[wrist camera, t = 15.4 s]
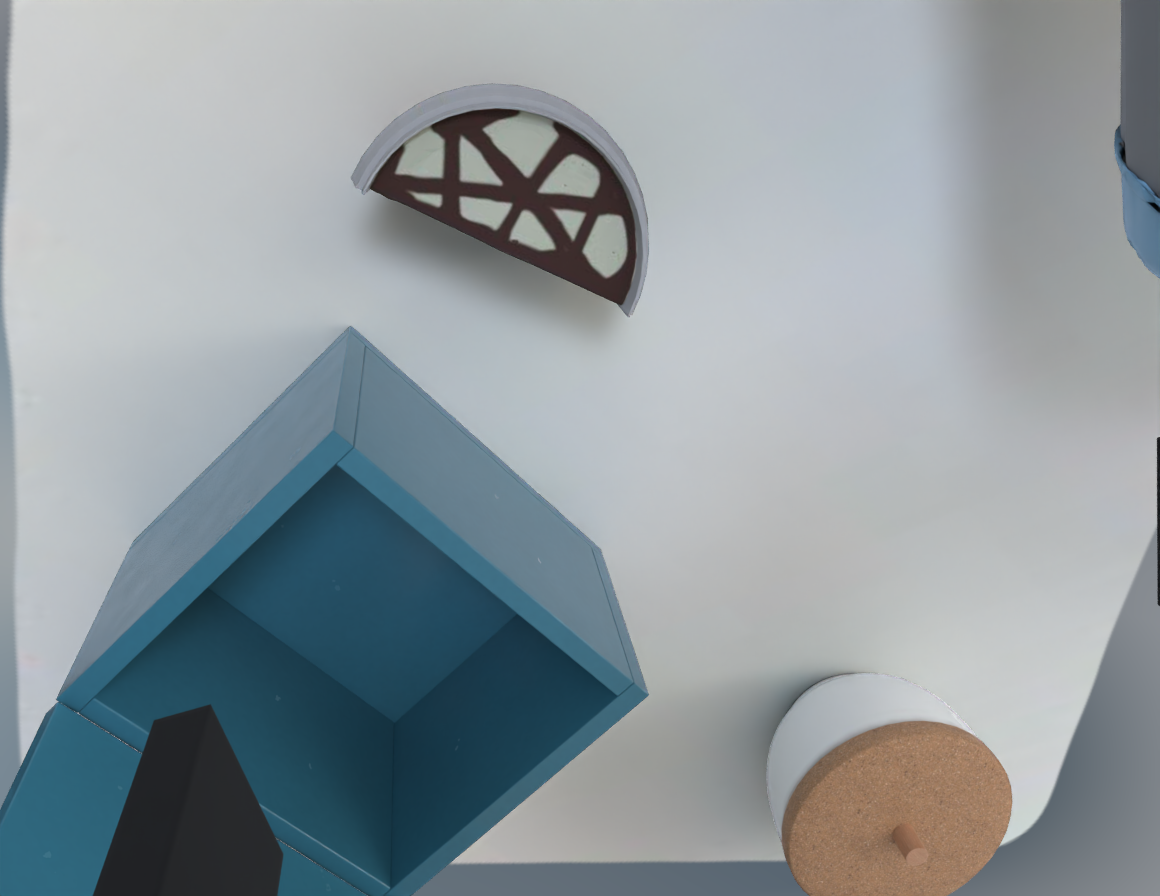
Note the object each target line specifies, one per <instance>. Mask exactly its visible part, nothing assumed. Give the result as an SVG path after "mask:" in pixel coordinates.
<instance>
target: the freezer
mask: <svg viewBox="0 0 1160 896" xmlns="http://www.w3.org/2000/svg"><path fill="white" fill-rule="evenodd" d="M648 695H649V694H648V691H647V688H646V685H645V682H644V679H643V675H642V672H641V669H640V666H639V663H638V660H637V657H636V654H635V651H634V648H633V645H632V642H631V639H630V636H629V633H628V630H627V627H626V624H625V621H624V618H623V615H622V612H621V609H620V606H619V603H618V600H617V597H616V594H615V591H614V588H613V585H612V582H611V579H610V576H609V573H608V570H607V567H606V564H605V561H604V558H603V555H602V552H601V549H600V548H599V547H597V546H596V545H595V544H594V543H593V542H592V541H591V540H590V539H589V538H587V537H586V536H585V535H584V534H583V533H582V532H581V531H580V530H578V529H577V528H576V527H575V526H574V525H573V524H572V523H571V522H570V521H568V520H567V519H566V518H565V517H564V516H563V515H562V514H561V513H559V512H558V511H557V510H556V509H555V508H554V507H553V506H552V505H551V504H549V503H548V502H547V501H546V500H545V499H544V498H543V497H542V496H541V495H539V494H538V493H537V492H536V491H535V490H534V489H533V488H532V487H530V486H529V485H528V484H527V483H526V482H525V481H524V480H523V479H522V478H520V477H519V476H518V475H517V474H516V473H515V472H514V471H513V470H511V469H510V468H509V467H508V466H507V465H506V464H505V463H504V462H503V461H501V460H500V459H499V458H498V457H497V456H496V455H495V454H494V453H493V452H491V451H490V450H489V449H488V448H487V447H486V446H485V445H484V444H482V443H481V442H480V441H479V440H478V439H477V438H476V437H475V436H474V435H472V434H471V433H470V432H469V431H468V430H467V429H466V428H465V427H463V426H462V425H461V424H460V423H459V422H458V421H457V420H456V419H455V418H453V417H452V416H451V415H450V414H449V413H448V412H447V411H446V410H444V409H443V408H442V407H441V406H440V405H439V404H438V403H437V402H436V401H434V400H433V399H432V398H431V397H430V396H429V395H428V394H427V393H426V392H424V391H423V390H422V389H421V388H420V387H419V386H418V385H417V384H415V383H414V382H413V381H412V380H411V379H410V378H409V377H408V376H407V375H405V374H404V373H403V372H402V371H401V370H400V369H399V368H398V367H396V366H395V365H394V364H393V363H392V362H391V361H390V360H389V359H388V358H386V357H385V356H384V355H383V354H382V353H381V352H380V351H379V350H377V349H376V348H375V347H374V346H373V345H372V344H371V343H370V342H369V341H367V340H366V339H365V338H364V337H363V336H362V335H361V334H360V333H359V332H357V331H356V330H355V329H354V328H353V327H351V326H350V327H348V328H347V329H346V330H345V331H344V332H343V333H342V334H341V335H340V336H339V337H338V338H337V339H336V340H335V341H334V342H333V343H332V344H331V345H330V346H329V347H328V348H327V349H326V350H325V351H324V352H323V353H322V354H321V355H320V356H319V357H318V358H317V359H316V360H315V361H314V362H313V363H312V364H311V365H310V366H309V367H308V368H307V369H306V370H305V371H304V372H303V373H302V374H301V375H300V376H299V377H298V378H297V379H296V380H295V381H294V382H293V383H292V384H291V385H290V386H289V387H288V388H287V389H286V390H285V391H284V392H283V393H282V394H281V395H280V396H279V397H278V398H277V399H276V400H275V401H274V402H273V403H272V404H271V405H270V406H269V407H268V408H267V409H266V410H265V411H264V412H263V413H262V414H261V415H260V416H259V417H258V418H257V419H256V420H255V421H254V422H253V423H252V424H251V425H250V426H249V427H248V428H247V429H246V430H245V431H244V432H243V433H242V434H241V435H240V436H239V437H238V438H237V439H236V440H235V441H234V442H233V443H232V444H231V445H230V446H229V447H228V448H227V449H226V450H225V451H224V452H223V453H222V454H221V455H220V456H219V457H218V458H217V459H216V460H215V461H214V462H213V463H212V464H211V465H210V466H209V467H208V468H207V469H206V470H205V471H204V472H203V473H202V474H201V475H200V476H199V477H198V478H197V479H195V480H194V481H193V482H192V483H191V484H190V485H189V486H188V487H187V488H186V489H185V490H184V491H183V492H182V493H181V494H180V495H179V496H178V497H177V498H176V499H175V500H174V501H173V502H172V503H171V504H170V505H169V506H168V507H167V508H166V509H165V510H164V511H163V512H162V513H161V514H160V515H159V516H158V517H157V518H156V519H155V520H154V521H153V522H152V523H151V524H150V525H149V526H148V527H147V528H146V529H145V530H144V531H143V532H142V533H141V534H140V535H139V536H138V537H137V538H136V539H135V540H134V541H133V543H132V545H131V547H130V549H129V551H128V552H127V554H126V556H125V558H124V560H123V563H122V565H121V567H120V569H119V571H118V573H117V575H116V577H115V579H114V581H113V583H112V585H111V587H110V589H109V591H108V593H107V596H106V598H105V600H104V602H103V604H102V606H101V608H100V610H99V612H98V614H97V616H96V618H95V620H94V622H93V624H92V626H91V629H90V631H89V633H88V635H87V637H86V639H85V641H84V643H83V645H82V647H81V649H80V651H79V653H78V655H77V657H76V659H75V662H74V664H73V666H72V668H71V670H70V672H69V674H68V676H67V678H66V680H65V682H64V684H63V686H62V688H61V690H60V692H59V695H58V697H57V699H56V700H57V701H59V702H60V703H62V704H63V705H65V706H67V707H68V708H70V709H71V710H73V711H75V712H76V713H78V712H79V714H80V715H82V716H83V717H85V718H87V719H88V720H90V721H91V722H93V723H94V724H96V725H98V726H99V727H101V728H102V729H104V730H106V731H107V732H109V733H110V734H112V735H114V736H115V737H117V738H118V739H120V740H121V741H123V742H125V743H126V744H128V745H129V746H131V747H133V748H134V749H136V750H137V751H139V752H141V753H143V750H144V747H145V745H146V742H147V739H148V736H149V733H150V730H151V727H152V725H153V722H154V720H156V719H160V718H164V717H167V716H171V715H174V714H178V713H181V712H185V711H188V710H192V709H195V708H199V707H203V706H206V705H210V704H211V706H212V708H213V710H214V712H215V714H216V716H217V718H218V720H219V722H220V724H221V726H222V728H223V730H224V733H225V735H226V737H227V739H228V741H229V743H230V745H231V747H232V749H233V751H234V753H235V755H236V757H237V759H238V761H239V763H240V765H241V768H242V770H243V772H244V774H245V776H246V778H247V780H248V782H249V784H250V786H251V788H252V790H253V792H254V794H255V796H256V798H257V800H258V802H259V805H260V807H261V809H262V811H263V813H264V815H265V817H266V819H267V821H268V823H269V825H270V827H271V829H272V831H273V833H274V835H275V837H276V838H277V839H279V840H280V841H282V842H284V843H285V844H287V845H288V846H290V847H291V848H293V849H295V850H296V851H298V852H299V853H301V854H303V855H304V856H306V857H307V858H309V859H311V860H312V861H314V862H315V863H317V864H318V865H320V866H322V867H323V868H325V869H326V870H328V871H330V872H331V873H333V874H334V875H336V876H338V877H339V878H341V879H342V880H344V881H345V882H347V883H349V884H350V885H352V886H353V887H355V888H357V889H358V890H360V891H361V892H363V893H365V894H366V895H368V896H411V895H413V894H414V893H415V892H416V891H417V890H419V889H420V888H421V887H422V886H423V885H424V884H426V883H427V882H428V881H429V880H430V879H432V878H433V877H434V876H435V875H436V874H438V873H439V872H440V871H441V870H442V869H443V868H445V867H446V866H447V865H448V864H449V863H451V862H452V861H453V860H454V859H455V858H457V857H458V856H459V855H460V854H461V853H462V852H464V851H465V850H466V849H467V848H468V847H470V846H471V845H472V844H473V843H474V842H475V841H477V840H478V839H479V838H480V837H481V836H483V835H484V834H485V833H486V832H487V831H489V830H490V829H491V828H492V827H493V826H494V825H496V824H497V823H498V822H499V821H500V820H502V819H503V818H504V817H505V816H506V815H507V814H509V813H510V812H511V811H512V810H513V809H515V808H516V807H517V806H518V805H519V804H521V803H522V802H523V801H524V800H525V799H526V798H528V797H529V796H530V795H531V794H532V793H534V792H535V791H536V790H537V789H538V788H540V787H541V786H542V785H543V784H544V783H545V782H547V781H548V780H549V779H550V778H551V777H553V776H554V775H555V774H556V773H557V772H558V771H560V770H561V769H562V768H563V767H564V766H566V765H567V764H568V763H569V762H570V761H572V760H573V759H574V758H575V757H576V756H577V755H579V754H580V753H581V752H582V751H583V750H585V749H586V748H587V747H588V746H589V745H590V744H592V743H593V742H594V741H595V740H596V739H598V738H599V737H600V736H601V735H602V734H604V733H605V732H606V731H607V730H608V729H609V728H611V727H612V726H613V725H614V724H615V723H617V722H618V721H619V720H620V719H621V718H622V717H624V716H625V715H626V714H627V713H628V712H630V711H631V710H632V709H633V708H634V707H636V706H637V705H638V704H639V703H640V702H641V701H643V700H644V699H645V698H646V697H647V696H648Z"/></svg>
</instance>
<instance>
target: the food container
mask: <svg viewBox="0 0 1160 896" xmlns="http://www.w3.org/2000/svg"><path fill="white" fill-rule="evenodd" d="M351 179H352V181H353V183H354V185H355V187H356V188H358V189H360V190H362V194H363V195H364V194H365V193H366V192H367V191H368V190H369V189H371V190H373V191H375V192H377V193H379V194H381V195H383V196H385V197H386V198H388V199H391V200H394V201H397V202H400V203H402V204H404V205H406V206H409V207H411V208H413V209H415V210H417V211H419V212H421V213H423V214H426V215H428V216H430V217H432V218H434V219H436V220H438V221H440V222H442V223H445V224H447V225H449V226H451V227H453V228H455V229H457V230H459V231H461V232H463V233H465V234H468V235H470V236H472V237H474V238H476V239H478V240H480V241H482V242H484V243H486V244H488V245H490V246H492V247H494V248H496V249H498V250H500V251H502V252H504V253H507V254H509V255H511V256H513V257H516V258H518V259H520V260H523V261H525V262H527V263H530V264H532V265H534V266H536V267H539V268H541V269H543V270H545V271H547V272H549V273H552V274H554V275H556V276H558V277H560V278H563V279H565V280H567V281H569V282H571V283H573V284H575V285H578V286H580V287H582V288H584V289H586V290H588V291H591V292H593V293H595V294H597V295H599V296H601V297H604V298H606V299H608V300H610V301H613V302H615V303H617V305H618V306H619V307H620V308H621V309H622V311H623V312H624V313H625V314H626V315H627V317H630V315H632V314H633V312H634V310H635V307H636V305H637V303H638V300H639V298H640V296H641V292H642V288H643V285H644V281H645V277H646V273H647V263H648V254H649V238H648V218H647V213H646V208H645V203H644V199H643V194H642V191H641V189H640V186H639V183H638V181H637V178H636V176H635V173H634V171H633V169H632V167H631V165H630V164H629V162H628V160H627V159H626V157H625V155H624V153H623V152H622V150H621V149H620V147H619V146H618V145H617V144H616V143H615V141H614V140H613V139H612V138H611V136H610V135H609V134H608V133H607V132H606V130H604V129H603V128H602V127H601V126H600V125H599V124H598V123H596V122H595V121H594V120H593V119H592V118H591V117H590V116H589V115H587V114H586V113H584V112H583V111H581V110H580V109H578V108H576V107H575V106H573V105H572V104H570V103H568V102H567V101H565V100H562V99H560V98H558V97H555V96H553V95H550V94H548V93H546V92H543V91H540V90H535V89H531V88H527V87H523V86H518V85H506V84H483V85H473V86H465V87H461V88H458V89H454V90H450V91H447V92H443V93H440V94H438V95H436V96H433V97H431V98H429V99H427V100H425V101H423V102H421V103H418V104H416V105H415V106H414V107H412V108H411V109H409V110H408V111H406V112H405V113H403V114H402V115H400V116H399V117H397V118H396V119H395V120H394V121H393V122H392V123H391V124H390V125H389V126H388V127H386V128H385V129H384V130H383V131H382V132H381V133H380V134H379V135H378V136H377V137H376V139H375V140H374V141H373V143H372V144H371V145H370V147H369V148H368V149H367V151H366V152H365V153H364V155H363V156H362V157H361V159H360V161H359V163H358V165H357V167H356V169H355V171H354V173H353V175H352V176H351Z"/></svg>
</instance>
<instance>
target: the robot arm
mask: <svg viewBox="0 0 1160 896" xmlns="http://www.w3.org/2000/svg"><path fill="white" fill-rule="evenodd" d="M1114 148H1115V157H1116V160H1117V163H1118V166H1119V168H1120V171H1121V174H1122V197H1123V219H1124V228H1125V232H1126V235H1127V238H1128V241H1129V243H1130V245H1131V246H1132V247H1133V248H1134V249H1135V250H1136V252H1137V255H1138V257H1139V258H1140V259H1141V260H1142V262H1143V264H1144V265H1145V266H1146V267H1147V269H1148V270H1149V271H1151V272H1152V273H1153V274H1154V275H1156V276H1157V277H1158V278H1160V0H1121V124H1120V126H1119V127H1118V128H1117V130H1116V132H1115V142H1114ZM1157 536H1158V537H1157V538H1158V539H1157V541H1158V542H1157V543H1158V605H1159V606H1160V437H1159V438H1157ZM283 855H284V854H283V852H282V850H281V848H280V846H279V844H278V842H277V840H276V837H275V835H274V833H273V831H272V829H271V827H270V825H269V823H268V821H267V819H266V817H265V815H264V813H263V811H262V809H261V807H260V805H259V802H258V800H257V798H256V796H255V794H254V792H253V790H252V788H251V786H250V784H249V782H248V780H247V778H246V776H245V774H244V772H243V770H242V768H241V765H240V763H239V761H238V759H237V757H236V755H235V753H234V751H233V749H232V747H231V745H230V743H229V741H228V739H227V737H226V735H225V733H224V730H223V728H222V726H221V724H220V722H219V720H218V718H217V716H216V714H215V712H214V710H213V708H212V706H211V704H210V705H206V706H203V707H199V708H195V709H192V710H188V711H185V712H181V713H178V714H174V715H171V716H167V717H164V718H160V719H156V720H154V722H153V725H152V727H151V730H150V733H149V736H148V739H147V742H146V745H145V747H144V750H143V753H142V756H141V759H140V762H139V765H138V767H137V770H136V773H135V776H134V779H133V782H132V785H131V787H130V790H129V793H128V796H127V799H126V802H125V805H124V807H123V810H122V813H121V816H120V819H119V822H118V825H117V827H116V830H115V833H114V836H113V839H112V842H111V845H110V848H109V850H108V853H107V856H106V859H105V862H104V865H103V868H102V870H101V873H100V876H99V879H98V882H97V885H96V888H95V890H94V893H93V896H277V895H278V888H279V881H280V875H281V868H282V861H283Z"/></svg>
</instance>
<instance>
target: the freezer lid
mask: <svg viewBox="0 0 1160 896" xmlns="http://www.w3.org/2000/svg"><path fill="white" fill-rule="evenodd" d="M141 756H142V754H141V753H139V752H138V751H136V750H135V749H133V748H131V747H130V746H128V745H127V744H125V743H123V742H122V741H120V740H119V739H117V738H115V737H114V736H112V735H111V734H109V733H108V732H106V731H104V730H103V729H101V728H100V727H98V726H96V725H95V724H93V723H92V722H90V721H88V720H87V719H85V718H84V717H82V716H81V715H79V714H77V713H76V712H74V711H73V710H71V709H69V708H68V707H66V706H65V705H63V704H61V703H60V702H58V703H56V704H55V705H54V706H53V707H52V708H51V709H50V710H49V711H48V712H47V713H46V715H45V717H44V719H43V721H42V723H41V725H40V727H39V729H38V731H37V734H36V736H35V738H34V740H33V742H32V744H31V746H30V748H29V750H28V752H27V755H26V757H25V759H24V761H23V763H22V765H21V767H20V769H19V771H18V773H17V775H16V778H15V780H14V782H13V784H12V786H11V788H10V790H9V792H8V795H7V797H6V799H5V801H4V803H3V805H2V807H1V809H0V896H93V893H94V890H95V888H96V885H97V882H98V879H99V876H100V873H101V870H102V868H103V865H104V862H105V859H106V856H107V853H108V850H109V848H110V845H111V842H112V839H113V836H114V833H115V830H116V827H117V825H118V822H119V819H120V816H121V813H122V810H123V807H124V805H125V802H126V799H127V796H128V793H129V790H130V787H131V785H132V782H133V779H134V776H135V773H136V770H137V767H138V765H139V762H140V759H141ZM276 840H277V842H278V844H279V846H280V848H281V850H282V852H283V854H284V855H283V861H282V868H281V875H280V881H279V888H278V895H277V896H367V895H365V894H363V893H362V892H360V891H359V890H357V889H355V888H354V887H352V886H351V885H349V884H348V883H346V882H344V881H343V880H341V879H340V878H338V877H336V876H335V875H333V874H332V873H330V872H328V871H327V870H325V869H324V868H322V867H321V866H319V865H317V864H316V863H314V862H313V861H311V860H309V859H308V858H306V857H305V856H303V855H301V854H300V853H298V852H297V851H295V850H294V849H292V848H290V847H289V846H287V845H286V844H284V843H282V842H281V841H279V840H278V839H276Z"/></svg>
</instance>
